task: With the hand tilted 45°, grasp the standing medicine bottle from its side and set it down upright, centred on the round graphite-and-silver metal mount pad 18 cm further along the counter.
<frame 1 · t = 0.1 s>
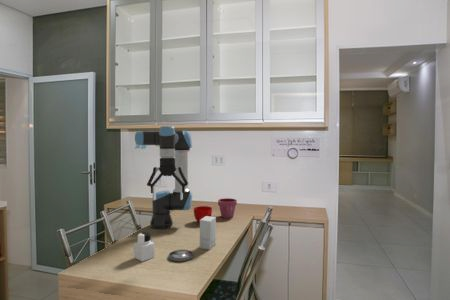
hand: (168, 199, 137), 28 cm above the table, tool pointing down, fingers open, 13 cm apart
plant pot: (227, 216, 209), on the table
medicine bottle: (144, 257, 134), on the table
skincare box: (208, 246, 148), on the table
mount pad: (181, 256, 135), on the table
ceramic cup: (204, 223, 192), on the table
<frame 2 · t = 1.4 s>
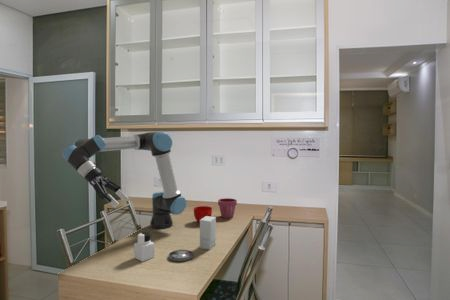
hand: (122, 202, 133), 27 cm above the table, tool tilted 45°, fingers open, 13 cm apart
nothing on the table moved.
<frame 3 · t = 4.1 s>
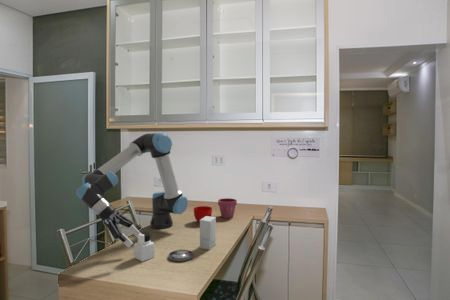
hand: (135, 240, 133), 9 cm above the table, tool tilted 45°, fingers open, 13 cm apart
nothing on the table moved.
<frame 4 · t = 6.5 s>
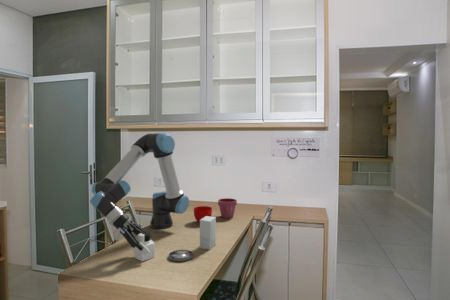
hand: (150, 249, 134), 4 cm above the table, tool tilted 45°, fingers closed on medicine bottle, 10 cm apart
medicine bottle: (144, 257, 134), on the table, touching gripper
everything else where it was.
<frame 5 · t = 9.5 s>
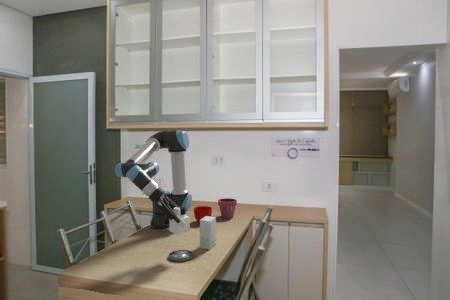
hand: (185, 223, 134), 17 cm above the table, tool tilted 45°, fingers closed on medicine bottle, 10 cm apart
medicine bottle: (179, 231, 134), point 13 cm above the table, touching gripper
everything else where it was.
when the fingers open (6 cm above the table, at t = 12.4 s): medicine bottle drops 1 cm, resting on mount pad.
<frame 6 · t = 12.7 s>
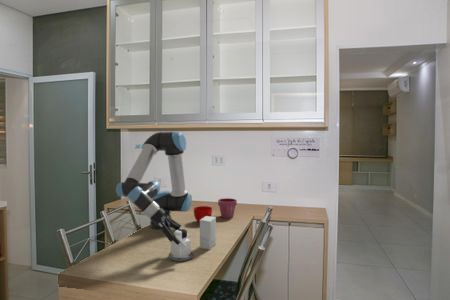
hand: (185, 242, 135), 7 cm above the table, tool tilted 45°, fingers open, 12 cm apart
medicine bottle: (180, 254, 135), point 1 cm above the table, touching mount pad
everything else where it was.
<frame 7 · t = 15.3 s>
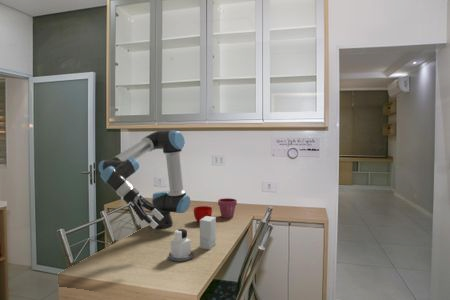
hand: (159, 222, 134), 17 cm above the table, tool tilted 45°, fingers open, 13 cm apart
nothing on the table moved.
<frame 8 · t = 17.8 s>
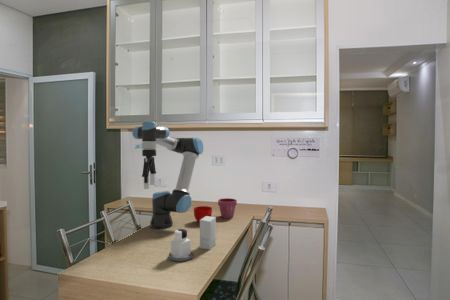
hand: (149, 186, 153), 32 cm above the table, tool pointing down, fingers open, 13 cm apart
nothing on the table moved.
at the end: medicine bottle 0.2 cm off-centre on the mount pad, point 1.0 cm above the mount pad's base; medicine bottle tilted 0°; the gripper is holding nothing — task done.
